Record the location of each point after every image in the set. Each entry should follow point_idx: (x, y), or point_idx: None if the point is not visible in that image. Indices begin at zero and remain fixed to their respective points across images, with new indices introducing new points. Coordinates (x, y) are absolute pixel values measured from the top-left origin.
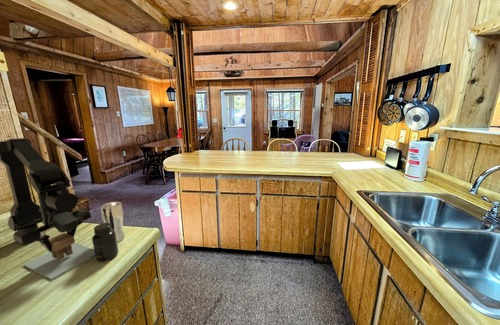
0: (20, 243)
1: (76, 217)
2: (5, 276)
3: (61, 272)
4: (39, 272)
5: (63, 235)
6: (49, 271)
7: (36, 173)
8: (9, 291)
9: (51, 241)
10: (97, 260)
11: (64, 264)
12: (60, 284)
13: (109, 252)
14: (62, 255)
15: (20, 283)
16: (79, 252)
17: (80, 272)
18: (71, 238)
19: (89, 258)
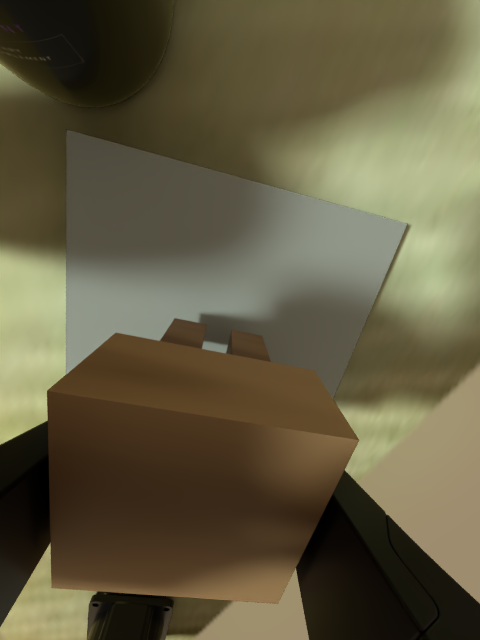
0: (170, 616)
1: None
2: (361, 474)
3: (346, 218)
4: (349, 358)
5: (106, 543)
6: (339, 310)
7: None
8: (460, 366)
9: (276, 543)
10: (172, 13)
11: (270, 280)
12: (438, 119)
13: None
14: (241, 341)
15: (409, 374)
16: (136, 302)
17: (316, 75)
18: (108, 381)
19: (163, 157)
